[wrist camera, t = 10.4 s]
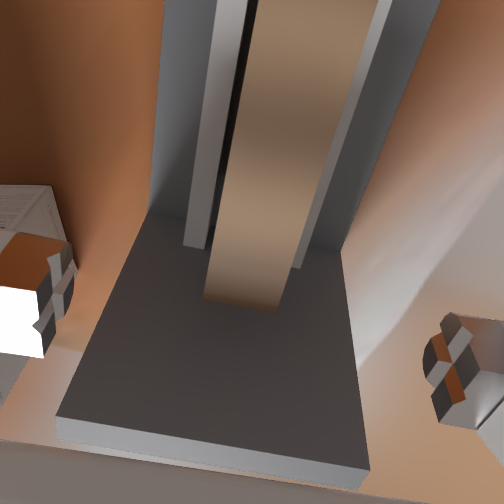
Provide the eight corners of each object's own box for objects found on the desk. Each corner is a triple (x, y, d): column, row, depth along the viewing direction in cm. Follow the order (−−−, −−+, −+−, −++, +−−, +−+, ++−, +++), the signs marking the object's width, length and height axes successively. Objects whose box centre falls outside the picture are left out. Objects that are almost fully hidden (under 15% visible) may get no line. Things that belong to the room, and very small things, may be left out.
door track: (331, 256, 31) (356, 490, 19) (151, 220, 31) (57, 439, 18) (501, -182, 18) (940, -346, 6) (194, -267, 17) (-42, -660, 5)
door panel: (280, 189, 27) (275, 313, 19) (228, 178, 27) (202, 299, 19) (348, -56, 20) (386, -23, 12) (277, -73, 20) (268, -52, 12)
